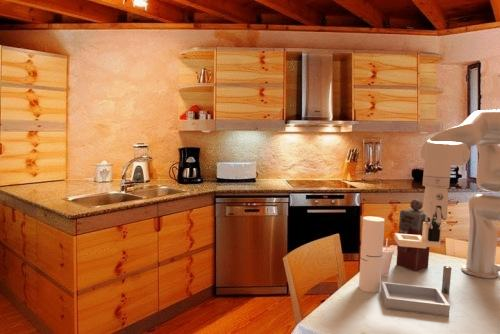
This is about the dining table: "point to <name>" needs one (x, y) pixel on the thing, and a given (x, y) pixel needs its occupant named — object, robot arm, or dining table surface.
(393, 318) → the dining table surface
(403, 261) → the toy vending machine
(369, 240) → the cylindrical container
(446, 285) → the post
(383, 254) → the smoothie
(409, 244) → the beige stepped block
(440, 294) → the tray
